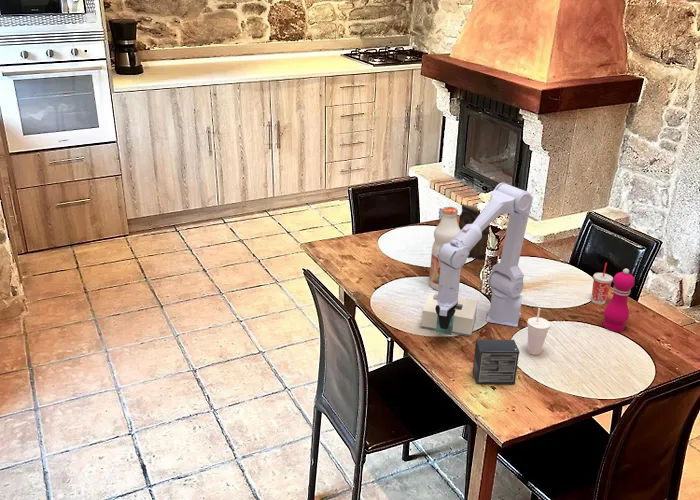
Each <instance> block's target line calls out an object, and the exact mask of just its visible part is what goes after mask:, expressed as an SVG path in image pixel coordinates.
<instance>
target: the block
mask: <svg viewBox="0 0 700 500" xmlns="http://www.w3.org/2000/svg"><path fill="white" fill-rule="evenodd" d="M453 321H454V315H453V316H452V317H451V320H450V323H449V326H448V329H441V328H440V324H439V318H438V315H437V325H436V330H435V333H438V334H444V335H450V336H452V334H453V333H452V330H453Z"/></svg>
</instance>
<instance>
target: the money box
mask: <svg viewBox="0 0 700 500" xmlns="http://www.w3.org/2000/svg"><path fill="white" fill-rule="evenodd" d="M435 294H436V295H438V293H433V292H429V295H428V297H427V299H426V302H425V304H424V307H423V309H422V314H421V315H422V316H421V324H420V325H421V326H420V327H421V329H427V330H431V331H432V330H433V331H436V325H437V313H436V310H435V308H436V305H438V302H437V300H434V299H433V297H434V295H435ZM478 303H479V300H477V299H472V298H464V297H459V296H458V304H457V306H456V307H455V309H456V311H455V313H454V321H453V330H452V334H454V335H461V336H466V337H472V334H473V329H474V326H475V323H476V322H475V321H476V318H477V310H478Z"/></svg>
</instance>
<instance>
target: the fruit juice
mask: <svg viewBox="0 0 700 500" xmlns="http://www.w3.org/2000/svg"><path fill="white" fill-rule="evenodd" d="M441 212H442V216H441V220H440V221H439V224H438V225H436V227H435V229H434V231H433V238H434V242H433V244H432V246H431V247H432V248H431V257H430V258H431V259H430V265H429V266H430V268H429V279H428V282H429V283H428V284H429V286H430V288H432V289H434V290H436V291H438V288H439V277H440V266H439V260H438V258H437V253H438V251H439V249H440V247H441V246H442V245H443V244H446V243H450V242H451V241H452V239H453V238H454V237H455V236H456V235H457V234H458V233H459V232H460V231H461V230H460V228H459V221H458V218H457V215H458V213H459V212H458V208H456V207H455V206H454V207H453V206H445V207H443V208H442V211H441Z"/></svg>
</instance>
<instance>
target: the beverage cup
mask: <svg viewBox="0 0 700 500" xmlns="http://www.w3.org/2000/svg"><path fill="white" fill-rule="evenodd" d="M607 265H608V262H605V264H604V268H603V272H595V273H594V274H593V276H592V277H593V282H592V290H591V296H590V301H591V302H592V303H593V304H596V305H604V304H606V303H607V298H608V295H609V292H610V289H611V285H612V283H613V279H614V276H612V275H610V274H608V273H606V269H607Z"/></svg>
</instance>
